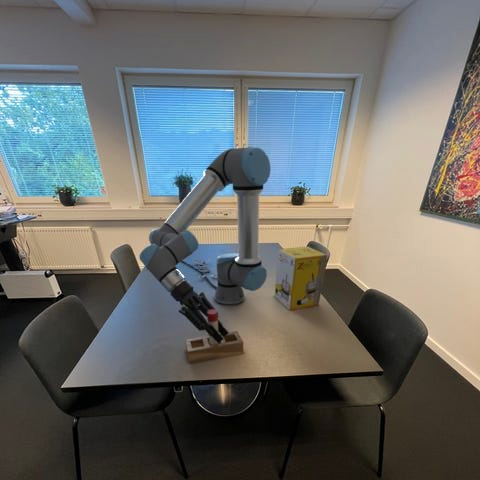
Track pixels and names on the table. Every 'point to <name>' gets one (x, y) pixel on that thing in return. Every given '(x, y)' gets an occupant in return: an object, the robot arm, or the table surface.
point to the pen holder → (213, 347)
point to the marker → (212, 323)
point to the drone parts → (203, 268)
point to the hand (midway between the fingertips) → (223, 337)
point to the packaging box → (299, 277)
